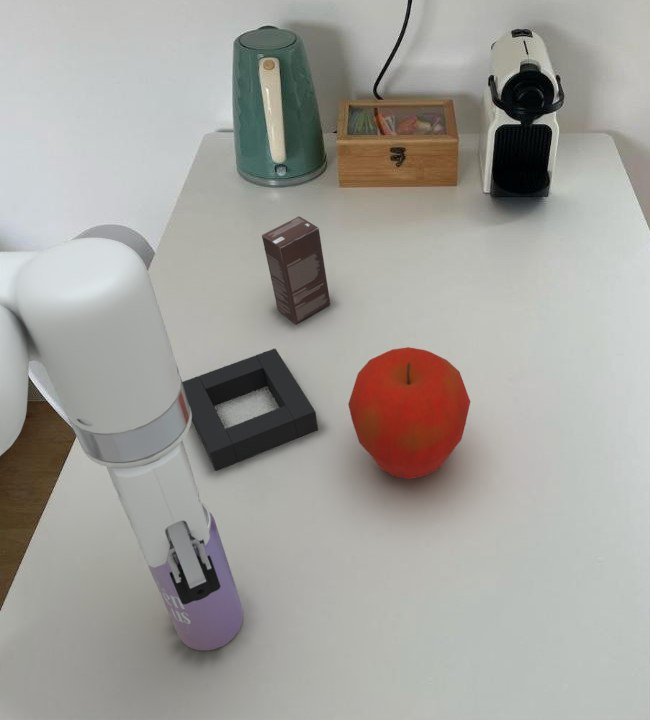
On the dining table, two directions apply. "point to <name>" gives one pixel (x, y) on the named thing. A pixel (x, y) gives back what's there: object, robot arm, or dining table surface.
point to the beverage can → (204, 600)
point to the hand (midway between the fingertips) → (188, 561)
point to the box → (297, 268)
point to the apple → (409, 411)
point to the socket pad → (256, 432)
